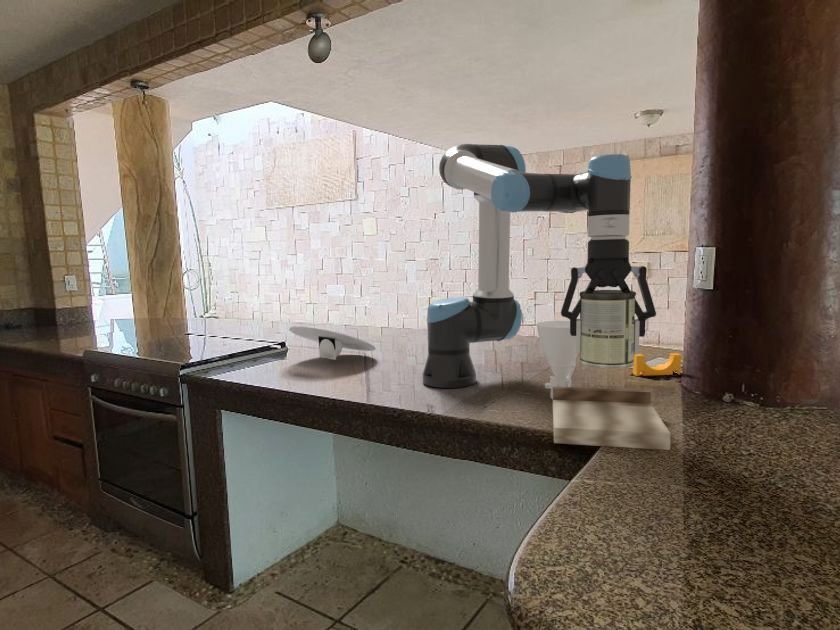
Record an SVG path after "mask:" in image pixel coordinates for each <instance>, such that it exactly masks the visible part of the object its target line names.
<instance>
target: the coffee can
mask: <svg viewBox="0 0 840 630" xmlns="http://www.w3.org/2000/svg"><path fill="white" fill-rule="evenodd" d="M584 291H585V290H584ZM584 291H580V292H579V299H580V300H581V312H580V314H579V319H580V320H581V340H580V353H579V363H580V364H581V365H584V366H587V367H590V368H591V367H592V368H597V369H599V368H600V369H624V368H630V367H633V365H634V324H635V319H636V318H635V316H636V314H635V299H636V295H637V292H636V291H633V290H630V291H631V293H623V292H622V291H621V289H595V290H594V291H593V293H592V294H588V293H584Z"/></svg>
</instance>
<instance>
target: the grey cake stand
mask: <svg viewBox="0 0 840 630" xmlns="http://www.w3.org/2000/svg"><path fill="white" fill-rule="evenodd" d="M288 331H290V332H291V333H292V334H294V335H296V336H299V337H301V338H303V339H306V340H308V341H312V342H315V343H318V351H319V352H318V353H319V358H323V359H329V360H333V361H335V360H337V357H338V356H339V355H340V354H341V353H342V351H343V349H345V350H350V351H351V350H353V351H360V352H372V351H373V352H374V351H376V349H377V348H376V347H375V345H373V344H371V343H369V341H368V342H367V341H365V340H362V339H360V338H358V337H354V336H350V335H347V334H343V333H341V332H336V331H331V330H327V329H321V328H315V327H309V326H308V327H307V326H291V327H289V328H288Z"/></svg>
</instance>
